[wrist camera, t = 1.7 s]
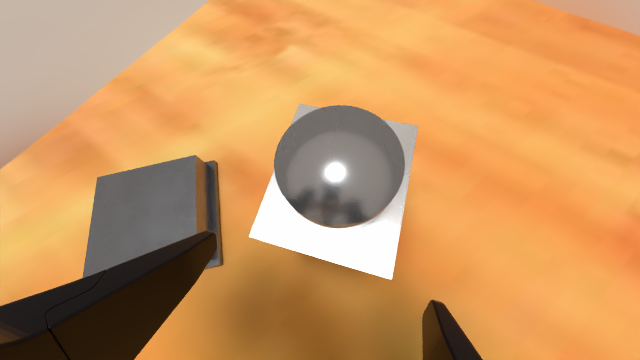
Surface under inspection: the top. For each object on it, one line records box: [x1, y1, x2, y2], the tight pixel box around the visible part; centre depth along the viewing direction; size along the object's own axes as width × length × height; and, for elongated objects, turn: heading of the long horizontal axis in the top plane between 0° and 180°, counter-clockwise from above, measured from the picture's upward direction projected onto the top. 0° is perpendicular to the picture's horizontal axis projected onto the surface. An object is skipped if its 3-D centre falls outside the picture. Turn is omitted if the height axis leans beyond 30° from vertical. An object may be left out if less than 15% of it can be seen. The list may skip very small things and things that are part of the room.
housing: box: [249, 104, 418, 280], centre depth 15 cm, size 7×6×13 cm
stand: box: [83, 155, 223, 278], centre depth 21 cm, size 10×10×3 cm
